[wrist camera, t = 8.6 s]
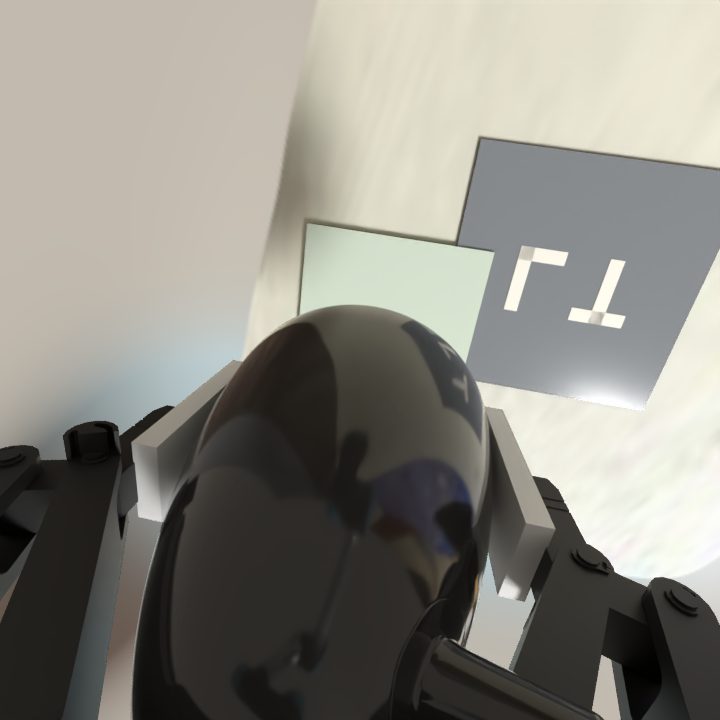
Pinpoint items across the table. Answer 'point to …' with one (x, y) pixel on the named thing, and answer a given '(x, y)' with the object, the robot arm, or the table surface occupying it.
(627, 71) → the table surface
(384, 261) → the mat
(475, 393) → the pump dispenser
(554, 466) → the table surface
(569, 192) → the tile
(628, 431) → the table surface
